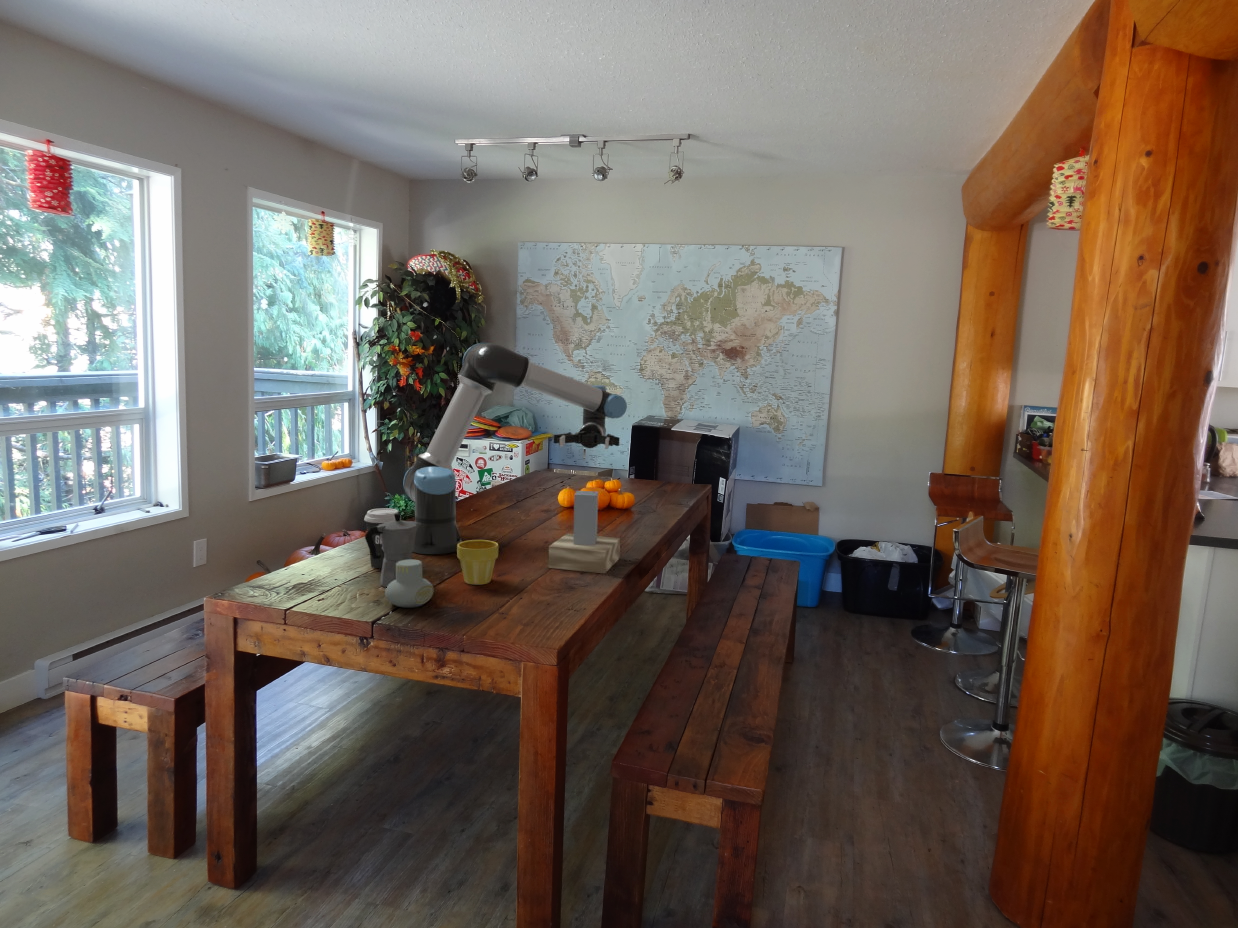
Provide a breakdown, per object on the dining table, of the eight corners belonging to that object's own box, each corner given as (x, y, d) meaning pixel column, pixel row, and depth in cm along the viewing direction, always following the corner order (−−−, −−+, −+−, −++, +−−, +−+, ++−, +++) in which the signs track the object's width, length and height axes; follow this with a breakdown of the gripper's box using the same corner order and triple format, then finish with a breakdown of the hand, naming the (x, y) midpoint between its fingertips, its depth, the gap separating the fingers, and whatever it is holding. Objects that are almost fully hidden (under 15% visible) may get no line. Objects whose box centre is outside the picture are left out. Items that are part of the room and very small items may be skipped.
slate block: (594, 545, 218) (596, 495, 216) (573, 544, 218) (574, 494, 216) (596, 539, 224) (598, 491, 222) (575, 539, 224) (576, 490, 222)
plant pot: (480, 572, 210) (480, 537, 208) (506, 581, 203) (506, 544, 202) (448, 581, 202) (448, 543, 200) (475, 589, 195) (475, 551, 194)
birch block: (604, 573, 212) (605, 551, 211) (548, 567, 216) (548, 546, 215) (619, 558, 228) (620, 538, 227) (566, 553, 232) (567, 533, 231)
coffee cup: (364, 571, 208) (363, 515, 206) (365, 561, 217) (364, 508, 215) (401, 569, 210) (401, 514, 208) (401, 559, 220) (401, 507, 217)
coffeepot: (411, 574, 207) (410, 506, 204) (431, 582, 200) (430, 512, 198) (356, 585, 195) (355, 515, 193) (376, 594, 189) (375, 521, 186)
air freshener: (409, 613, 177) (409, 570, 175) (379, 608, 180) (378, 566, 178) (438, 599, 187) (438, 559, 185) (409, 594, 190) (409, 554, 188)
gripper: (628, 448, 254) (625, 457, 233) (552, 445, 256) (541, 454, 235) (629, 425, 253) (626, 432, 232) (552, 422, 255) (542, 429, 234)
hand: (583, 443), depth 233 cm, fingers open, 13 cm apart
